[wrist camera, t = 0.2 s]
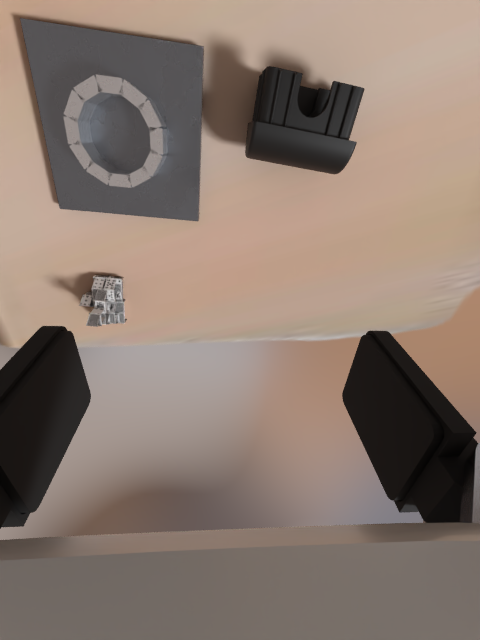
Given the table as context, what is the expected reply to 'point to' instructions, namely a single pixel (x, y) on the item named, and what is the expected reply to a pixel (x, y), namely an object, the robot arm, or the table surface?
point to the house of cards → (105, 301)
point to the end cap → (302, 122)
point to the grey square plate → (119, 119)
